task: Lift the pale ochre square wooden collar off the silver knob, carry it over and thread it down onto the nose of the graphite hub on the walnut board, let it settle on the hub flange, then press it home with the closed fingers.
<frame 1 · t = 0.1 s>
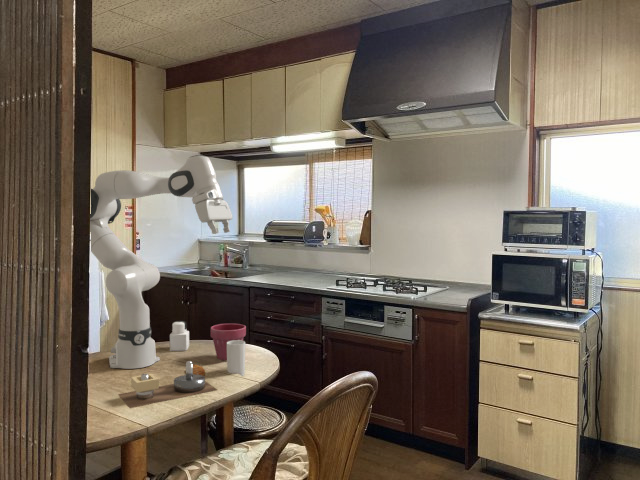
hand: (221, 232, 190), 52 cm above the table, tool tilted 20°, fingers open, 8 cm apart
mug: (237, 373, 192), on the table
hub: (189, 388, 172), resting on base board
silver knob: (145, 396, 163), resting on base board
base board: (168, 396, 168), on the table
medicine bottle: (179, 349, 226), on the table
pastry: (196, 377, 188), on the table
plant pot: (228, 357, 213), on the table
collar: (144, 387, 163), point 4 cm above the table, touching silver knob
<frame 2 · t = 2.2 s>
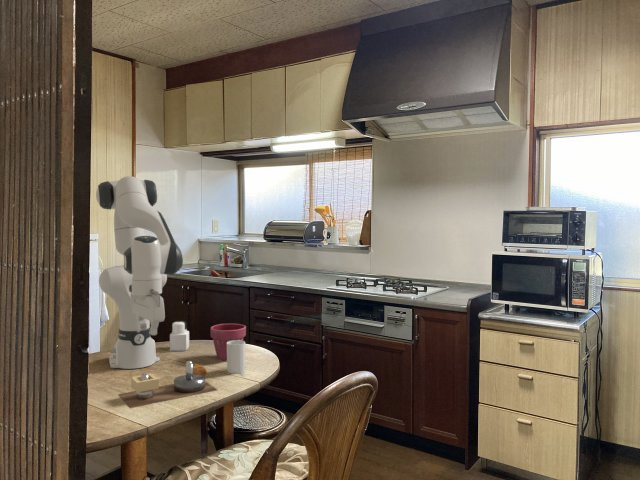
hand: (148, 332, 163), 22 cm above the table, tool pointing down, fingers open, 8 cm apart
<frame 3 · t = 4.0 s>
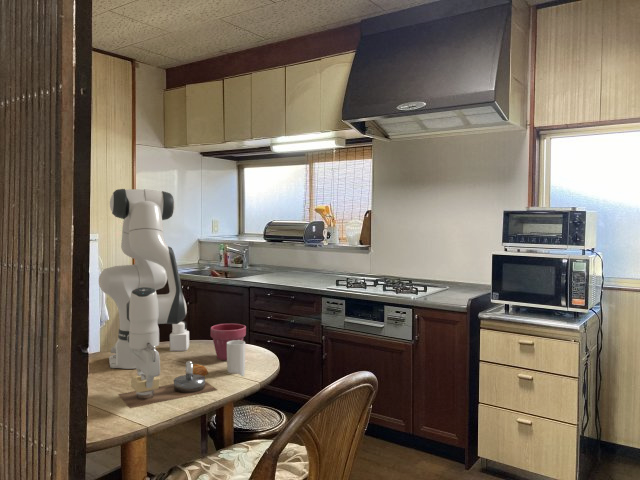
hand: (145, 383, 163), 6 cm above the table, tool pointing down, fingers closed on collar, 7 cm apart
collar: (144, 387, 163), point 4 cm above the table, touching gripper, silver knob
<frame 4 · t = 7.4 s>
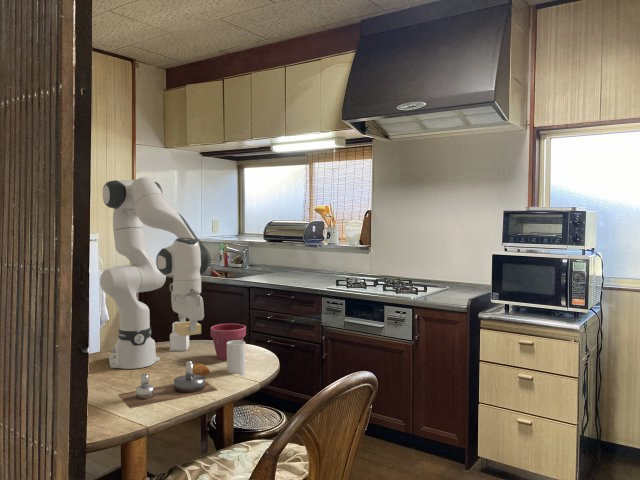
hand: (187, 329, 170), 21 cm above the table, tool pointing down, fingers closed on collar, 7 cm apart
collar: (187, 332, 170), point 20 cm above the table, touching gripper
when the fingers open (7 cm above the table, at t = 10.3 s): collar drops 1 cm, resting on hub.
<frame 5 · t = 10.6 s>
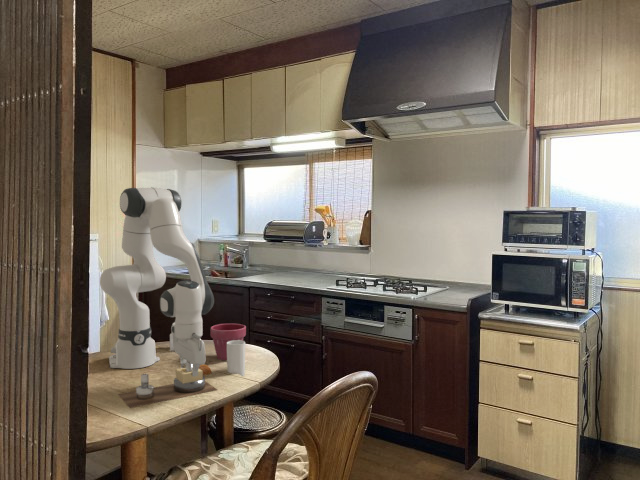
hand: (189, 371, 171), 7 cm above the table, tool pointing down, fingers open, 8 cm apart
collar: (189, 379, 171), point 4 cm above the table, touching hub
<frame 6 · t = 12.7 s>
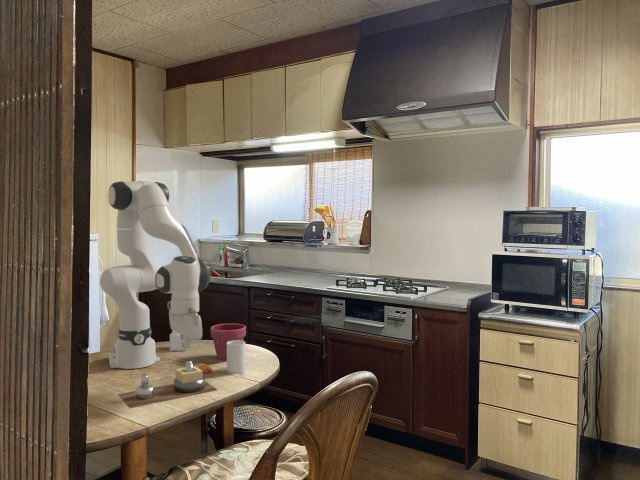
hand: (185, 348, 170), 15 cm above the table, tool pointing down, fingers closed
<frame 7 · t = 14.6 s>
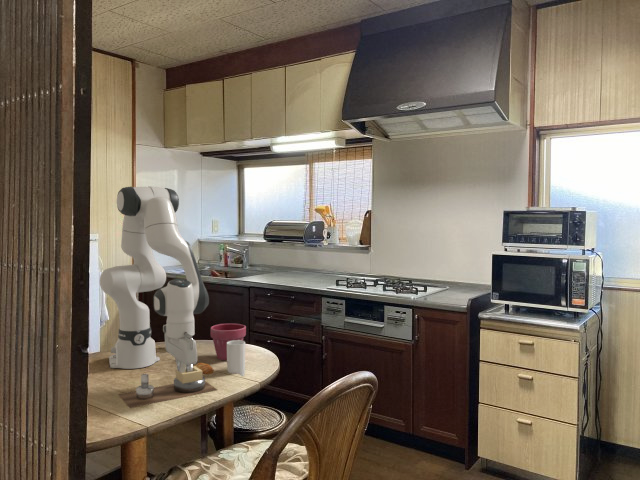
hand: (181, 371, 170), 8 cm above the table, tool pointing down, fingers closed, pressing on collar
collar: (189, 379, 171), point 4 cm above the table, touching gripper, hub
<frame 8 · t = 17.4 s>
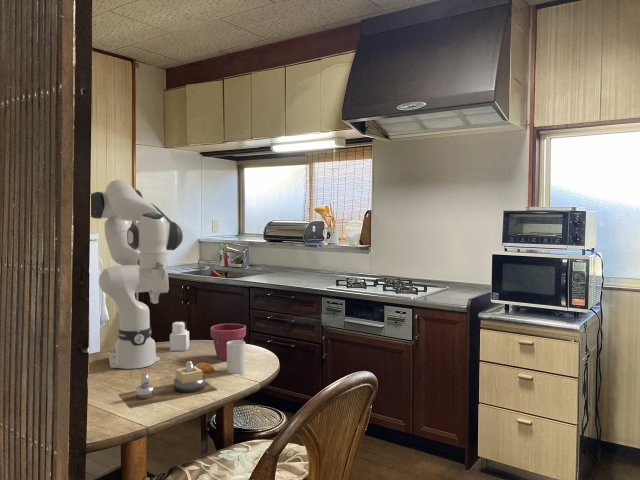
hand: (154, 302, 174), 29 cm above the table, tool pointing down, fingers closed
collar: (189, 379, 171), point 4 cm above the table, touching hub
at the end: collar 0.1 cm off-centre on the hub, point 3.0 cm above the hub's base; collar tilted 0°; the gripper is holding nothing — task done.
